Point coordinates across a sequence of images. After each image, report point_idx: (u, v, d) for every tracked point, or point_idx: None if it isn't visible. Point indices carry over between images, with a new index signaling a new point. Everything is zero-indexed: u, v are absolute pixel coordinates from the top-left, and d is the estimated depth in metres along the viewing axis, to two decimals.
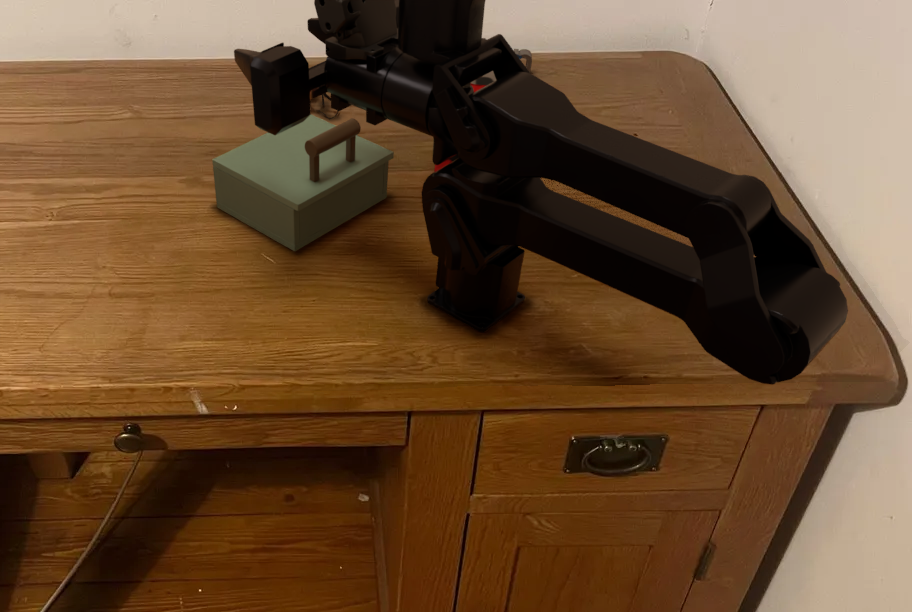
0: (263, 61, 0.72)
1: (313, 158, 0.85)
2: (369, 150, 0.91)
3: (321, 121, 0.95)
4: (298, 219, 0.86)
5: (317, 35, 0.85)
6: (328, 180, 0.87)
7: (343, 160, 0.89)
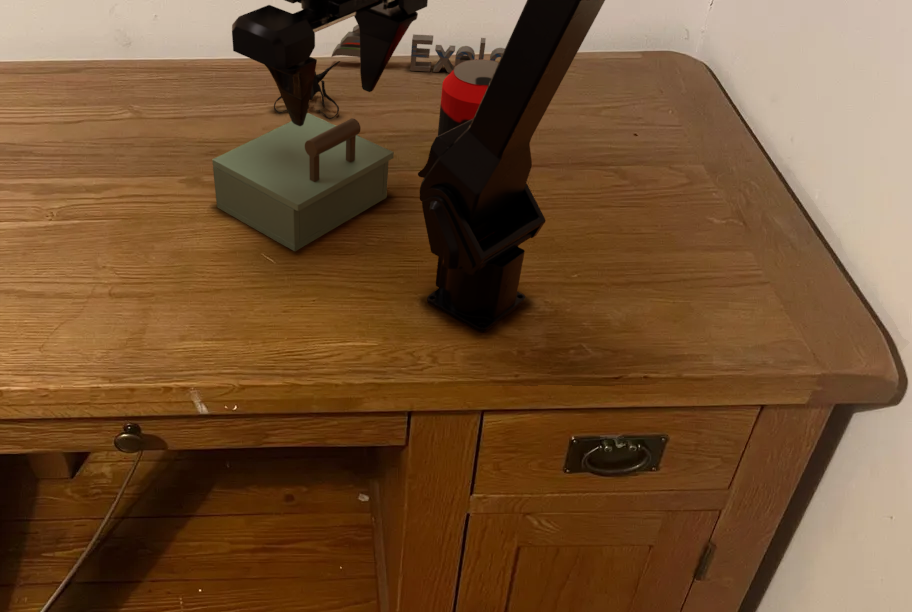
0: None
1: (313, 158, 0.85)
2: (369, 150, 0.91)
3: (321, 121, 0.95)
4: (298, 219, 0.86)
5: (373, 81, 0.85)
6: (328, 180, 0.87)
7: (343, 160, 0.89)
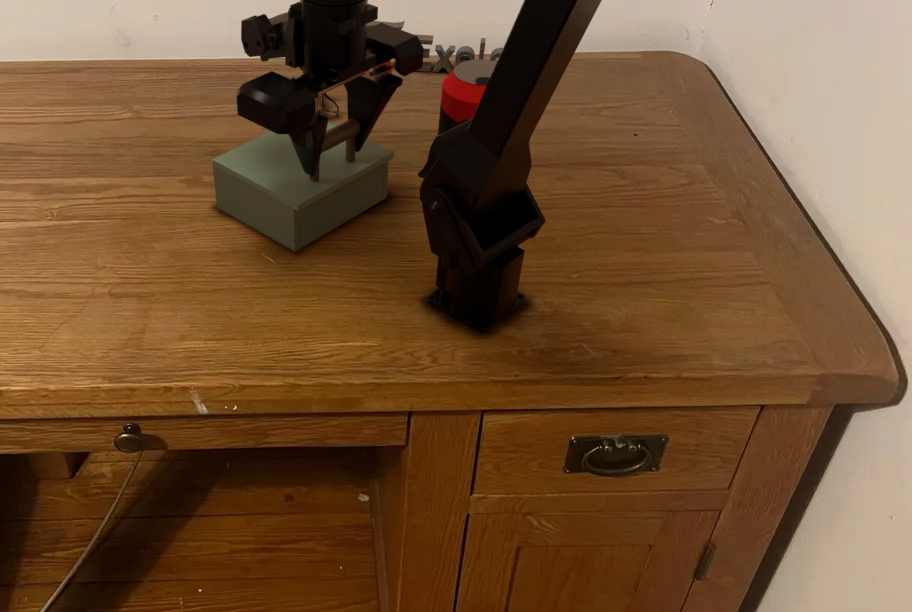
0: None
1: None
2: (369, 150, 0.91)
3: None
4: (298, 219, 0.86)
5: (360, 142, 0.88)
6: (328, 180, 0.87)
7: (343, 160, 0.89)
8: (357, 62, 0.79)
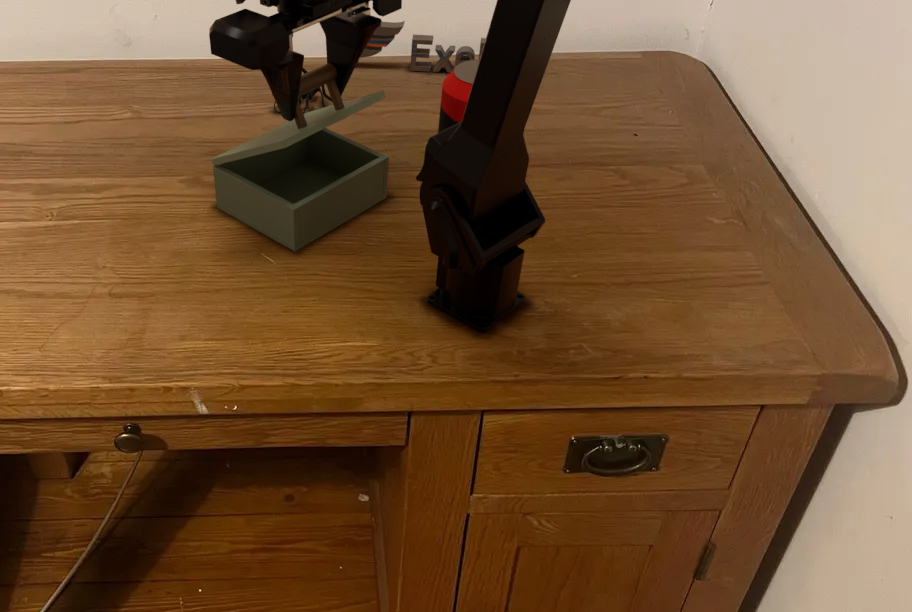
0: None
1: None
2: (359, 99, 0.88)
3: (318, 109, 0.95)
4: (298, 219, 0.86)
5: (340, 87, 0.86)
6: (316, 122, 0.84)
7: (333, 111, 0.87)
8: None
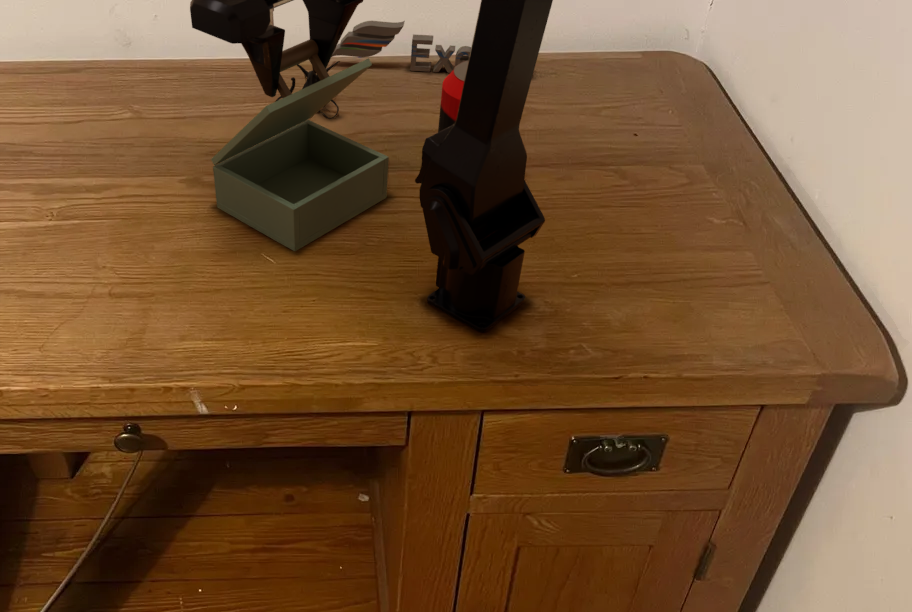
0: None
1: None
2: None
3: None
4: (298, 219, 0.86)
5: (323, 64, 0.86)
6: None
7: None
8: None
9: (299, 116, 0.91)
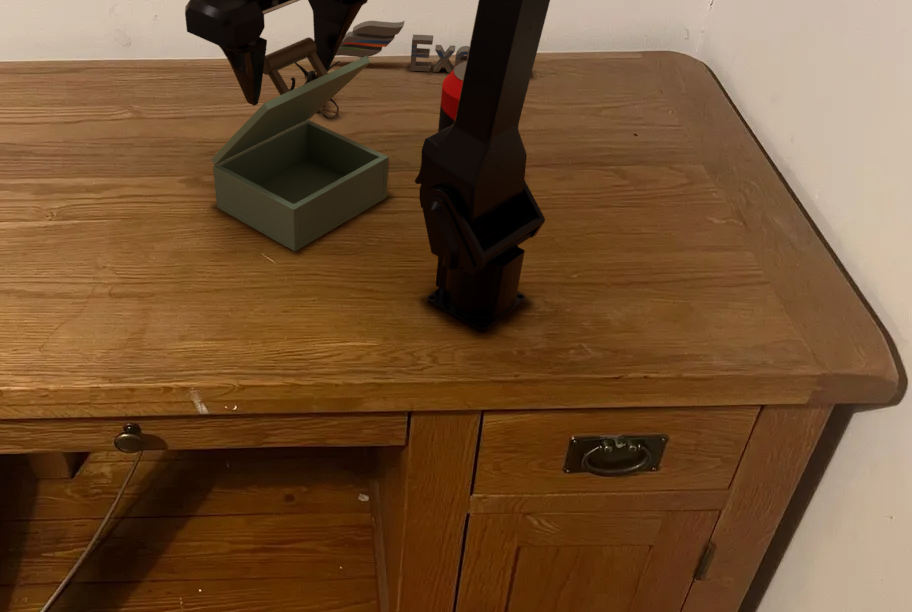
0: None
1: (271, 73, 0.83)
2: None
3: None
4: (298, 219, 0.86)
5: (326, 62, 0.88)
6: None
7: None
8: None
9: (299, 115, 0.91)
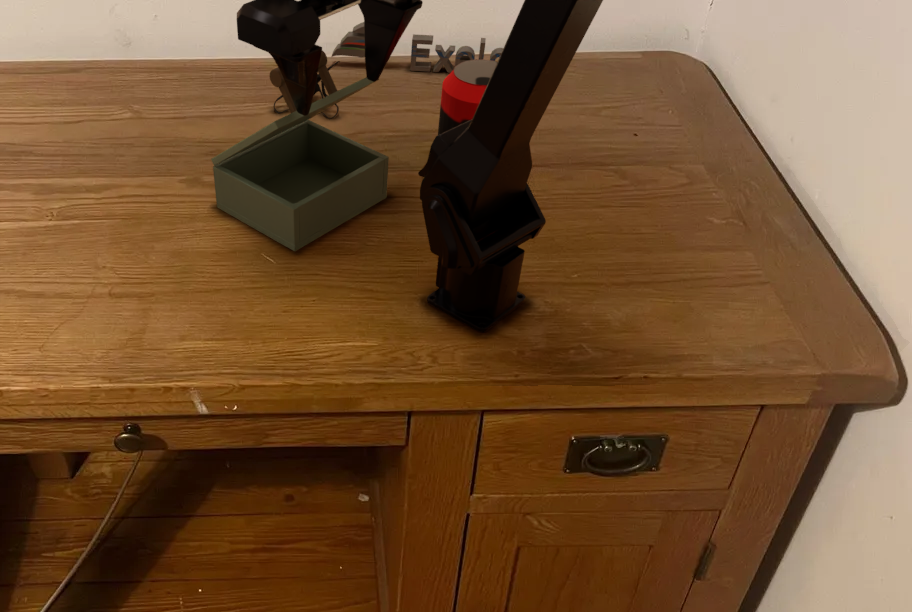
0: None
1: (282, 86, 0.83)
2: None
3: None
4: (298, 219, 0.86)
5: (378, 70, 0.84)
6: None
7: None
8: None
9: None
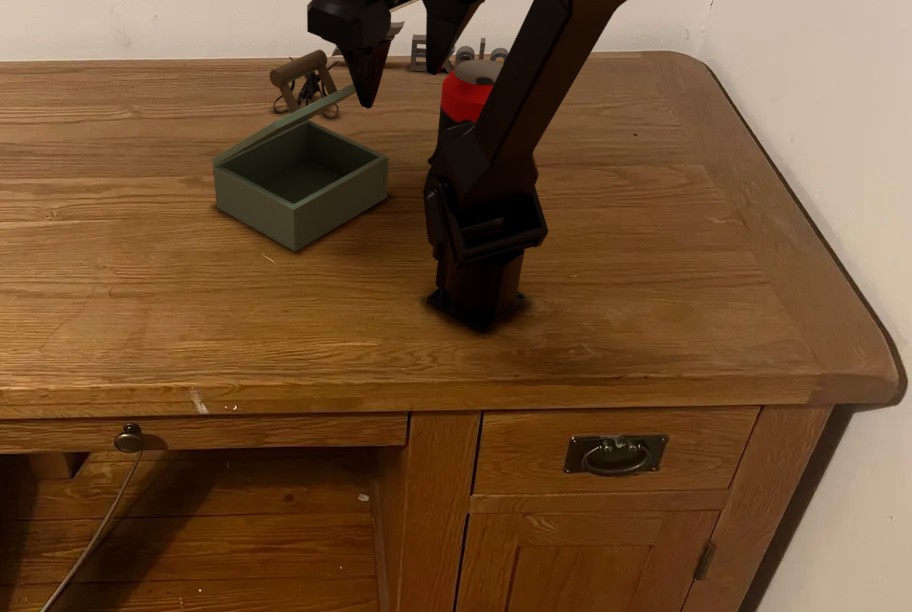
0: None
1: (282, 86, 0.83)
2: None
3: None
4: (298, 219, 0.86)
5: (438, 64, 0.85)
6: None
7: None
8: None
9: None
